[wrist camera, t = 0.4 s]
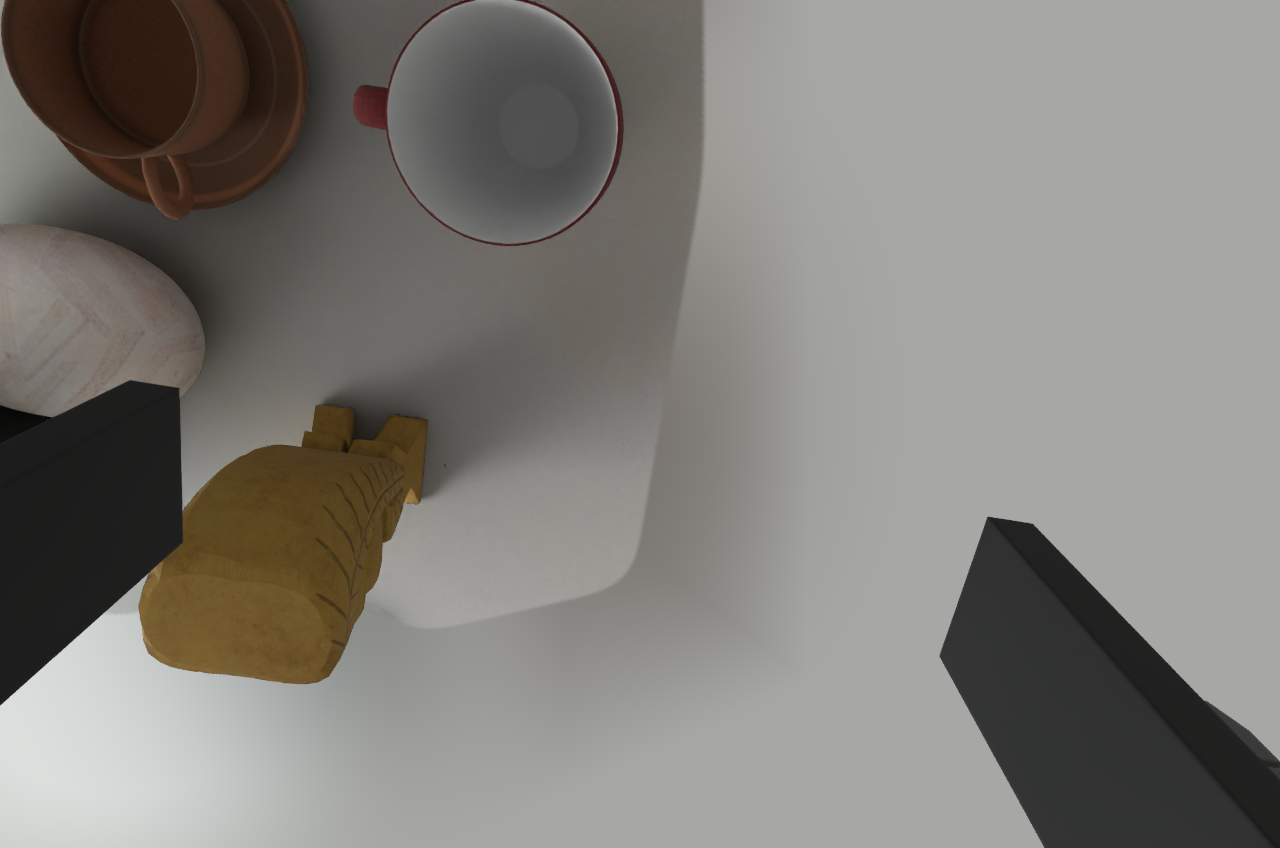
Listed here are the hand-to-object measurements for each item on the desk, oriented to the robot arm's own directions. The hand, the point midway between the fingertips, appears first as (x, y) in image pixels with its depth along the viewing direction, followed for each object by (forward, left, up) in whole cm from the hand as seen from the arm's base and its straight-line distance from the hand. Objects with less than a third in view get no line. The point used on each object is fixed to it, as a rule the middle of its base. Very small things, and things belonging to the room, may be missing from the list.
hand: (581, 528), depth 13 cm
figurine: (+16, +1, -28) cm, 32 cm away
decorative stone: (+23, -11, -28) cm, 38 cm away
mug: (+1, -8, -28) cm, 29 cm away
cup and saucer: (+12, -17, -28) cm, 35 cm away
